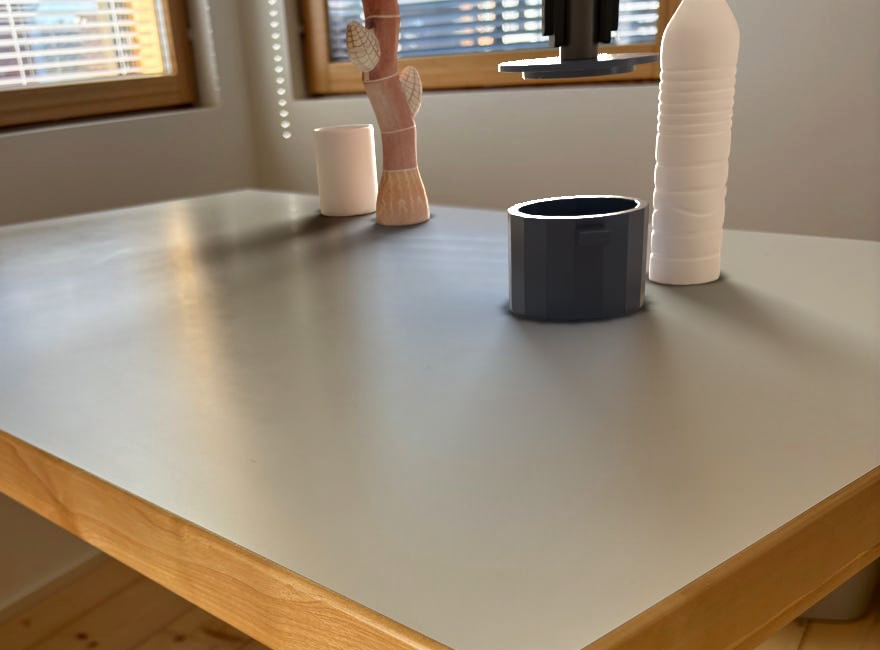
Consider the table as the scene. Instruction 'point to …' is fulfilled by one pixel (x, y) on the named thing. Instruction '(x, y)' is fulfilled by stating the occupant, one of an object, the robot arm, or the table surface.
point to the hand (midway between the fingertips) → (579, 42)
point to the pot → (577, 258)
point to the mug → (346, 169)
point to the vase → (391, 111)
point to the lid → (580, 50)
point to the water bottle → (693, 142)
